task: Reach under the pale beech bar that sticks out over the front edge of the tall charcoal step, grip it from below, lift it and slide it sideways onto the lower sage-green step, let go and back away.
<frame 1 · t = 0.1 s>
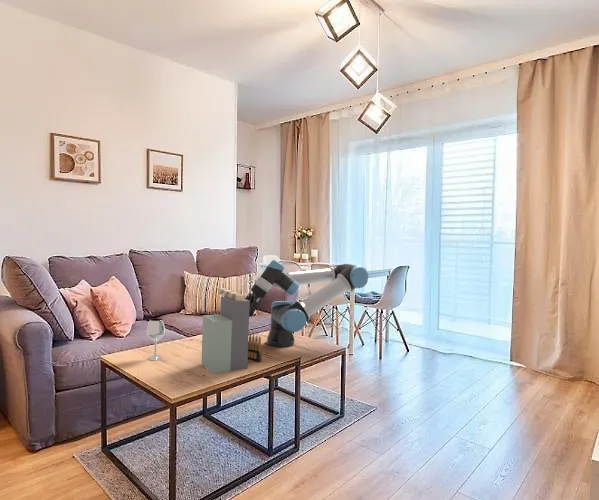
hand: (235, 323, 196), 15 cm above the table, tool tilted 35°, fingers open, 13 cm apart
wineglass: (155, 358, 186), on the table
ammunition clip: (251, 360, 190), on the table
beech bar: (230, 297, 184), point 30 cm above the table, touching step stand
step stand: (224, 366, 179), on the table
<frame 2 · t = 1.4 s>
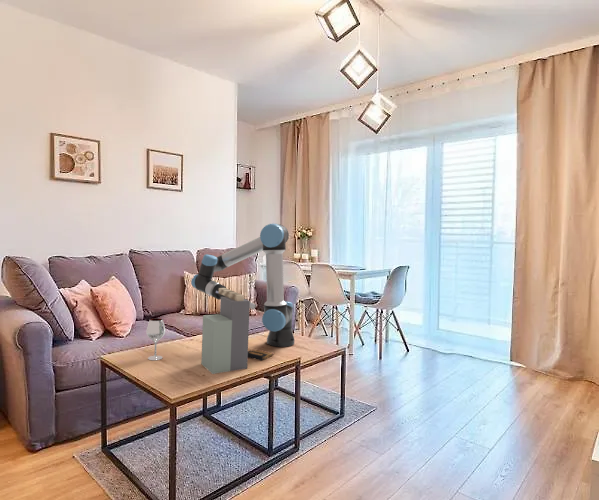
hand: (248, 305, 198), 24 cm above the table, tool horizontal, fingers open, 13 cm apart
ammunition clip: (252, 356, 191), point 1 cm above the table
beech bar: (230, 296, 184), point 30 cm above the table
everything else where it was.
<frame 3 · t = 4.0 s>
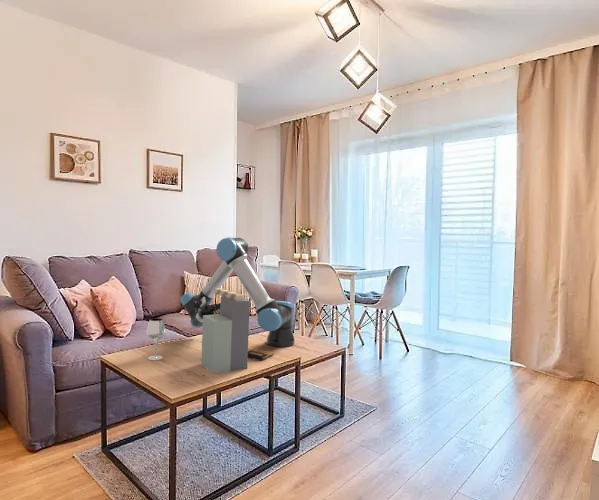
hand: (218, 298, 196), 27 cm above the table, tool pointing upward, fingers open, 13 cm apart
beech bar: (228, 297, 184), point 30 cm above the table, touching step stand
everything else where it was.
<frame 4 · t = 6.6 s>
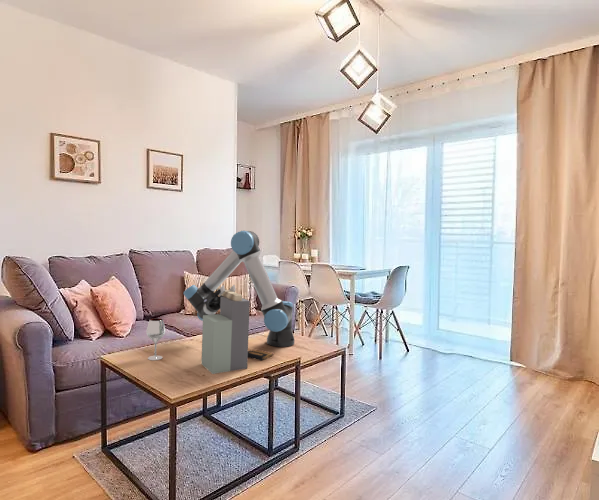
hand: (229, 287, 186), 34 cm above the table, tool pointing upward, fingers open, 4 cm apart
beech bar: (228, 297, 184), point 30 cm above the table
everything else where it was.
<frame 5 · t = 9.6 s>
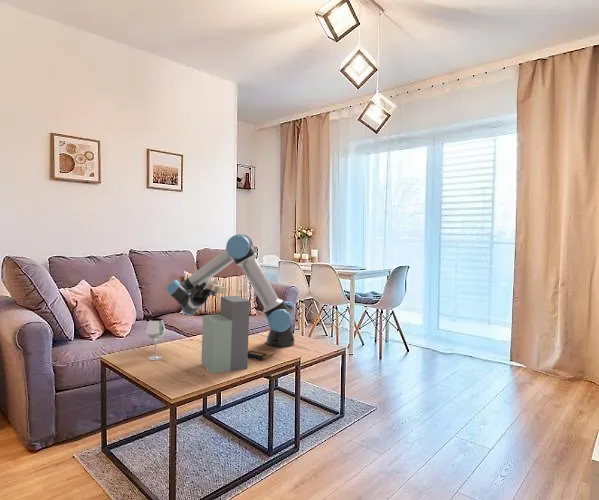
hand: (212, 280, 181), 38 cm above the table, tool pointing upward, fingers closed on beech bar, 3 cm apart
beech bar: (214, 289, 180), point 34 cm above the table, touching gripper
everything else where it was.
when the fingers open (27 cm above the table, at t = 12.1 s): beech bar drops 1 cm, resting on step stand.
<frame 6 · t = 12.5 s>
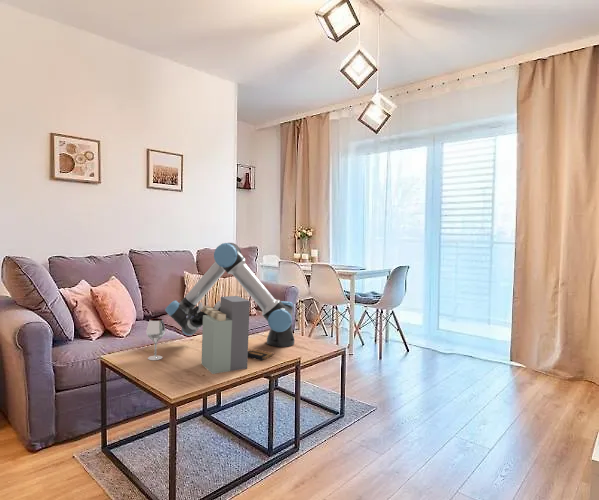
hand: (210, 304, 182), 27 cm above the table, tool pointing upward, fingers open, 8 cm apart
beech bar: (213, 315, 180), point 22 cm above the table, touching step stand
everything else where it was.
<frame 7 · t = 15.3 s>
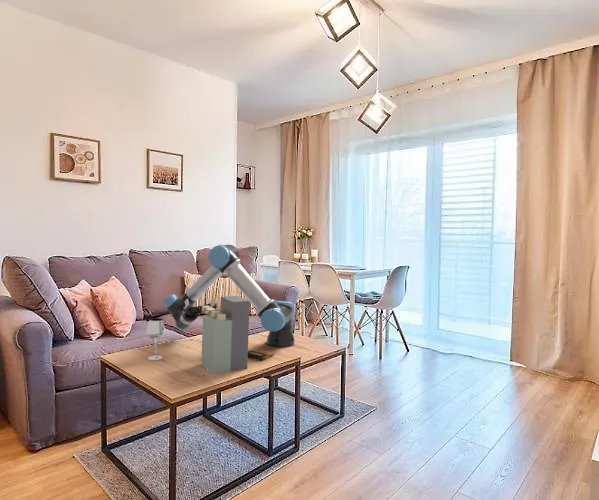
hand: (201, 300, 193), 26 cm above the table, tool pointing upward, fingers open, 13 cm apart
nothing on the table moved.
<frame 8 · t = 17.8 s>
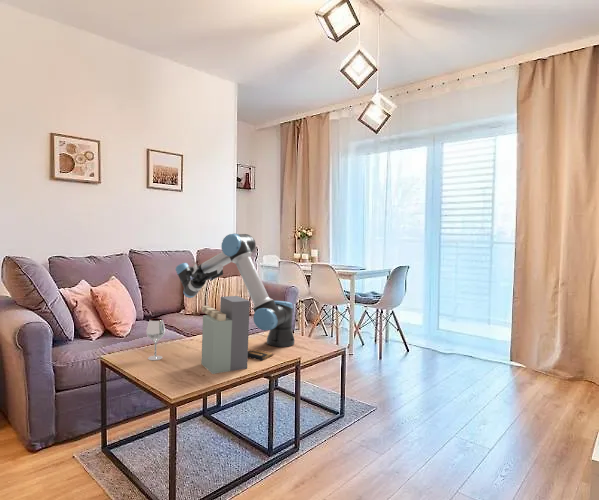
hand: (209, 266, 205), 42 cm above the table, tool pointing upward, fingers open, 13 cm apart
nothing on the table moved.
at the end: beech bar 0.0 cm from the target spot on the step stand, point 22.0 cm above the step stand's base; the gripper is holding nothing; beech bar tilted 0° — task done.
